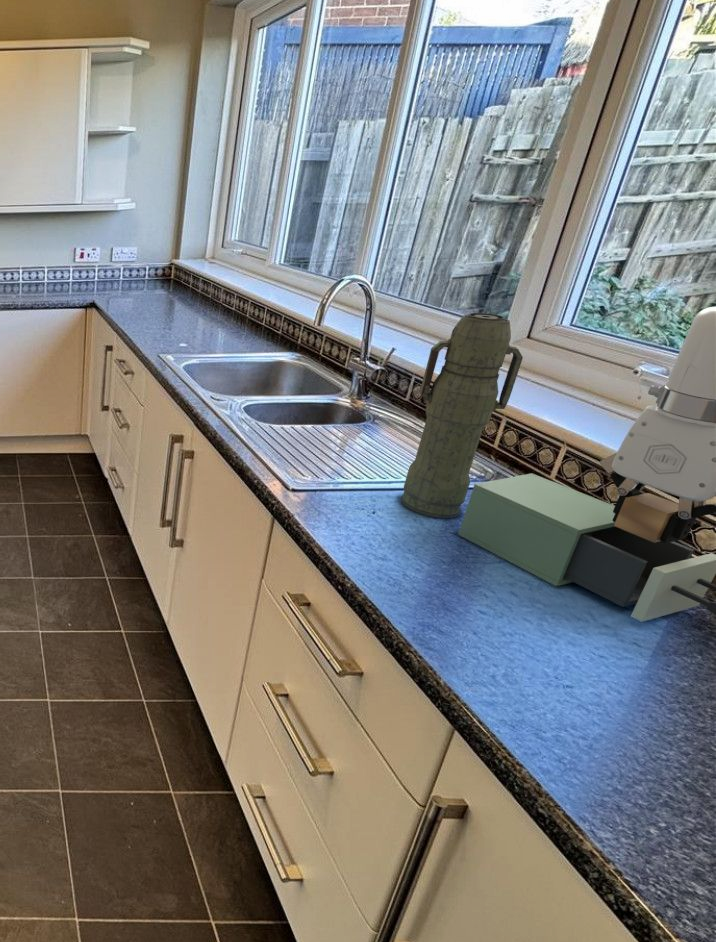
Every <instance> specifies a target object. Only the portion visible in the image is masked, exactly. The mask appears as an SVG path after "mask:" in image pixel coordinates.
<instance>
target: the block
mask: <svg viewBox="0 0 716 942" xmlns="http://www.w3.org/2000/svg"><path fill="white" fill-rule="evenodd" d="M640 494H641V495H636V496H631V497H626V498H625V501H624V503H623V505H622V508H621V510H620V512H619V514H618V517H617V519H616V521H615V524H614V526H616V527H618V528H620V529H623V530H625V531H628V532H630V533H632V534H635V535H637V536H639V537H642V538H644V539H647V540H649V541H651V542H654V543H655V542H660V537H661V535H662V533H663V531H664V529H665V527H666V525H667V523H668V521H669V518H670V517H671V516H672V515H676V514H677V512H678V507H679V503H678V502H674V501H672V500H669V499H666V498H663V497H661V496H658V495H656V494H652V493H650V492H647V493H640Z"/></svg>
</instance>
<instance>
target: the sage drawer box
mask: <svg viewBox="0 0 716 942" xmlns="http://www.w3.org/2000/svg"><path fill="white" fill-rule="evenodd" d="M614 507H615V505H614V504H611V503H608V502H605V501H603V500H601V499H598V498H595V497H594V496H591V495H588V494H586V493H583V492H580V491H578V490H576V489H572V488H570V487H568V486H565V485H562V484H560V483H557V482H555V481H552V480H549V479H547V478H545V477H543V476H539V475H537V474H535V473H532V472H531V473H526V474H521V475H515V476H510V477H504V478H500V479H494V480H487V481H483V482H477V483H474V485H473V488H472V491H471V494H470V497H469V500H468V504H467V506H466V510H465V513H464V516H463V519H462V522H461V525H460V528H459V531H458V534H457V535H458V536H460V537H462V538H464V539H466V540H467V541H469V542H471V543H473V544H475V545H477V546H478V547H480V548H482V549H485V550H486V551H488V552H490V553H492V554H494V555H496V556H498V557H500V558H501V559H504V560H505V561H508V562H509V563H511V564H513V565H515V566H517V567H519V568H521V569H522V570H524V571H526V572H528V573H530V574H532V575H534V576H536V577H537V578H539V579H542V580H543V581H545V582H547V583H548V584H551V585H553V586H554V587H560V586H563V585H567V584H572V583H574V582H573V581H571V580H569V579H567V578H565V577H564V574H565V572H566V569H567V567H568V564H569V562H570V560H571V557H572V555H573V552H574V550H575V547H576V545H577V542H578V540H579V538H580V535H581V534H583V533H588V532H592V531H597V530H601V529H606V528H610V527H614V524H615V522H613V518H614V515H615V513H613V510H614Z"/></svg>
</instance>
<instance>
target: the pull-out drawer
mask: <svg viewBox="0 0 716 942" xmlns="http://www.w3.org/2000/svg"><path fill="white" fill-rule="evenodd" d="M694 552H695V549H694V548H691V547H689V546H686V545H684V544H681V543H679V542H677V541H674V542H670V543H664V542H662V541H660V542H655V543H654V542H651V541H649V540H647V539H644V538H642V537H639V536H637V535H635V534H632V533H630V532H628V531H625V530H623V529H620V528H618V527H616V526H614V527H610V528H606V529H601V530H597V531H592V532H588V533H583V534H581V535H580V538H579V540H578V542H577V545H576V547H575V550H574V552H573V555H572V557H571V560H570V562H569V564H568V567H567V569H566V572H565V574H564V577H565V578H567V579H569V580H571V581H573V582H572V583H575V584H577V585H578V586H580V587H582V588H584V589H586V590H588V591H590V592H592V593H594V594H596V595H598V596H600V597H602V598H604V599H606V600H608V601H610V602H612V603H614V604H616V605H618V606H620V607H622V608H624V607H625V608H626V607H628V606H633V605H635V606H634V608H633V610H632V613H631V614H630V617H631V618H633V619H635V620H637V621H639V622H640V623H642V622H646V621H650V620H653V619H658V618H660V617H663V616H668V615H671V614H674V613H678V612H682V611H685V610H689V609H693V608H696V607H699V606H700V605H703V606H705V607H706V610H707V611H708V612H710V613H711V614H714V615H716V600H714V601H711V600H709V599H706V598H704V597H705V595H706V594H707V592H708V590H712V591H714V592H716V584H715V583H712V581H713V580H714V578H715V576H716V554H715V553H713V552H710V553H707V554H703V555H698V556H695V557H692V556H693V553H694Z"/></svg>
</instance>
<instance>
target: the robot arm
mask: <svg viewBox="0 0 716 942" xmlns="http://www.w3.org/2000/svg"><path fill="white" fill-rule="evenodd" d="M647 393H648V395H650V396H654V397H655V398H657V399H656V401H655V404H653V405H652V404H651V405H647V406H646V407H645V408H644V409H643V410H642V411H641V413H640V414H639V415H638V417H637V418H636V420H635V421H634V422H633V424H632V426H631V427H630V429H629V431H627V433H626V435H625V437H624V439H623V440H622V442H621V444H620V446H619V447H618V450H617V452H615V453H613V454H610V455H609V456H606V457H604V458H602V459H601V460H600V461H599V465H600V466H601V467H602V469H604V471H605V472H606V473H607V474H609V477H610V479H611V480H612V483H613V484H614V485H615V487H616V494H617V495H619V496H618V498H617V500H616V502H615V504H614V506H615V507H614V510H613V513H615V515H614V518H613V522H615V521H616V519H617V517H618V514H619V512H620V510H621V508H622V505H623V503H624V501H625V498H626V497H631V496H636V495H641V494H642V493H641V491H642V490H644V489H645V487H646V486H648V487H651V488H654V489H656V490H660V491H662V492H664V493H667V494H670V495H673V496H676V497H679V500H678V504H679V507H678V512H677V514H676V515H672V516H671V517H670V518H669V521H668V523H667V525H666V527H665V529H664V531H663V533H662V535H661V537H660V541H662V542H664V543H670V542H677V541H681V540H685V539H686V538H687V537H688V535H689V534H690V532H691V529H692V527H693V525H694V524H695V521H696V519H697V518H699V517H703V516H704V517H705V516H709V515H714V514H716V502H712V503H708V504H706V503H707V500H708V501H709V500H712V499H713V498H715V497H716V306H709V307H707V308H704V309H702V310H700V311H699V312H698V313H697V314H696V315H695V316H694V318H693V320H692V321H691V324H690V327H689V329H688V331H687V334H686V336H685V337H684V341H683V343H682V346H681V347H680V350H679V352H678V355H677V356H676V360H675V362H674V364H673V366H672V368H671V371H670V373H669V375H668V378H667V380H666V383H665V384H662V385H655V384H654V385H651V387H650V388H649V389H648V391H647Z"/></svg>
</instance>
